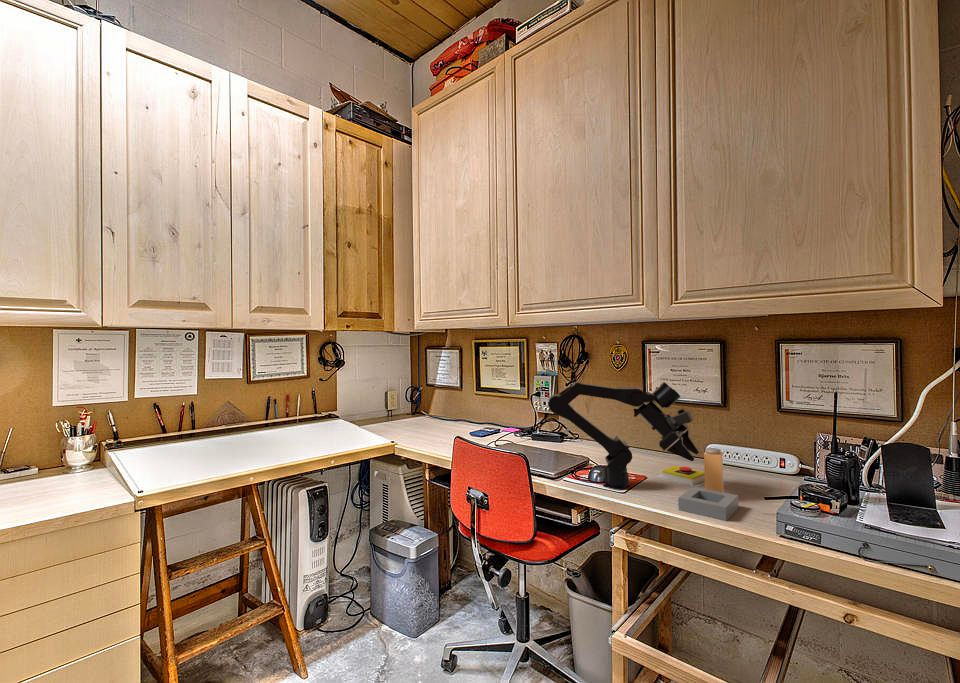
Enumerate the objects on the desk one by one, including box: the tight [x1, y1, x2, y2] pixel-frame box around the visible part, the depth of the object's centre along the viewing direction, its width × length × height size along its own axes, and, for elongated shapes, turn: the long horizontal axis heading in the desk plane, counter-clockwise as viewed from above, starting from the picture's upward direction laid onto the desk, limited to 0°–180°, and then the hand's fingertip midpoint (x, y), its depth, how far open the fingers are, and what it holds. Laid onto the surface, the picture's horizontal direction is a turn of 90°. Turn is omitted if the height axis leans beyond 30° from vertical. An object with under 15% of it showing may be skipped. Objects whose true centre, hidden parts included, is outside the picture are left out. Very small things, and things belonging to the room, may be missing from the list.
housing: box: [677, 486, 739, 522], centre depth 126 cm, size 12×12×4 cm
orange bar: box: [703, 447, 725, 493], centre depth 136 cm, size 4×4×14 cm
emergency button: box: [656, 465, 705, 488], centre depth 153 cm, size 9×4×15 cm
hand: (695, 456), depth 139 cm, fingers open, 9 cm apart
